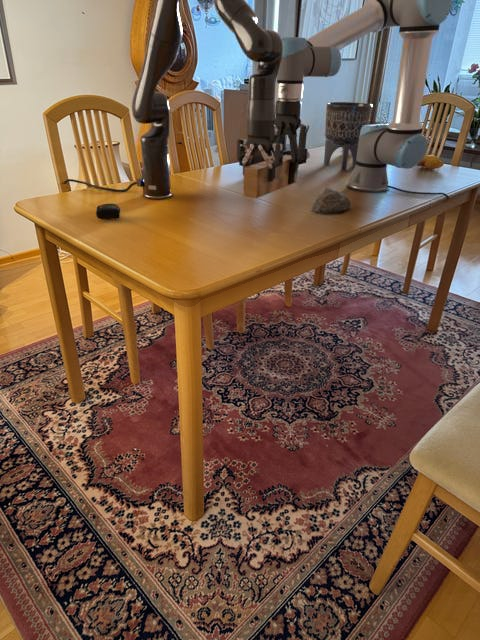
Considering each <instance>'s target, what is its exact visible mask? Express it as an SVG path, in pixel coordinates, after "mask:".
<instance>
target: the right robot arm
mask: <svg viewBox="0 0 480 640" xmlns="http://www.w3.org/2000/svg"><path fill="white" fill-rule="evenodd" d="M452 5H453V0H365V2H364V3H363V6H362V7H360V8H359V9H357V10H355V11H354V12H352V13H350V14H348V15H346V16H345V17H343V18H341V19H339V20H338V21H336V22H334V23H333V24H331V25H329V26H327V27H325V28H324V29H322V30H321V31H319V32H317V33H316V34H314V35H312V36H310V37H308V38H307V39H306V37H301V36H300V37H295V36H284V37H281V40H282V45H283V53H282V59H281V63H280V67H279V71H278V75H277V78H276V91H275V99H277V100H276V101H275V125H276V126H275V125H274V137H273V141H275V127H277V129H278V130H277V134H276V136H277V137H276V141H275V143H278V144H279V143H282V142H283V139H284V136H285V134H286V135H287V139H288V142H289V144H290V150H291V158H292V161H291V162H289V175H288V184H291V185H293V184H295V183H294V178H295V173H296V172H297V173H298V171H299V167H298V162H299V161H301V160H303V159H304V158H305V149H306V147H307V136H308V135H307V134H308V133H309V129H310V126H309V125H310V124H309V125H308V124H304V123H302V119H301V115H302V104H303V102H302V101H301V100H302V99H303V94H304V93H303V92H304V79H305V78H307V77H313V78H314V77H315V78H328V77H329V78H330V77H334V76H337V74H338V73H339V72H340V70H341V67H342V61H343V60H342V59H343V56H342V53H341V50H342V49H343V50H344V49H345V48H346V47H348V46H350V45H352V43H355V42H356V41H358V40H360V39H361V38H363V37H366V36H367V35H368V34H370V33H376V34H377V33H378V32H380V31H382V30H385V29H387V28H393V27H399V28H398V34H399V35H400V37H401V38H402V46H401V54H400V60H399V70H398V77H397V83H396V84H397V85H396V92H395V100H394V108H393V116H392V121H391V122H390V123H383V124H382V123H381V124H380V123H379V124H369V125H364V126H363V127H362V128H361V131H360V136H359V142H358V150H357V158H356V165H355V166H354V167H353V171H351V174H350V176H349V179H348V182H347V187H348V188H349V189H351V190H354V191H358V192H363V193H364V192H365V193H382V192H386V191H388V189H392V190H396V191H397V192H398V191H399V192H403V193H406V194H412V195H413V194H415V195H430V196H437V195H441V196H444V197H446V198H447V199H450V196H449V195H448V194H447V193H445V192H430V191H429V192H427V191H424V192H423V191H411V190H405V189H401V188H398V187H395V186H392V185H389V178H388V173H387V172H388V171H387V166H392V167H396V168H397V169H407V170H409V169H412V168H414V167H416V166H418V165H417V164H418V163H419V162H420V161H421V160H422V159H423V157H424V156H426V153H427V151H428V147H429V146H428V144H429V143H428V139H427V136H426V135H424V134H423V129H424V125H423V124H422V122H420V118H421V112H422V107H423V99H424V92H425V86H426V79H427V74H428V66H429V60H430V54H431V48H432V41H433V38H434V37H435V36H436V34H438V33H439V30H440V24H442V23H443V22H444V21H446V19H447V18H448V16H449V15H450V13H451V9H452ZM298 131H299V133H298ZM298 134H299V135H298ZM297 137H298V139H297ZM271 151H272V153H273V155H274V158H275V151H274V148H273V149H272V150H271ZM268 156H269V155H268ZM297 170H298V171H297ZM292 183H293V184H292Z"/></svg>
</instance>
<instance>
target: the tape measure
mask: <svg viewBox="0 0 480 640" xmlns="http://www.w3.org/2000/svg"><path fill="white" fill-rule="evenodd" d="M95 216H96V218H97V219H99V220H106V221H111V220H115V219H116V220H117V219H118V220H119V219H120V218H121V217H120V216H121V207H119V205H118V204H116V203H102V204H99V205H97V207H96V211H95Z"/></svg>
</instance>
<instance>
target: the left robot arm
mask: <svg viewBox="0 0 480 640" xmlns="http://www.w3.org/2000/svg"><path fill="white" fill-rule="evenodd" d="M179 2H180V1H179V0H155V2H154V8H153V13H152V17H151V18H152V19H151V23H150V27H149V31H148V38H147V41H146V47H145V52H144V57H143V63H142V66H141V69H140V74H139V76H138V80H137V83H136V87H135V90H134V93H133V96H132V101H131V113H132V117H133V119H134V120H135V121H136V122H137V123H139V124H141V125H143V124H144V125H147V124H149V125H150V126H149V127H150V128H149V129H148V130H147V131H146V132H144V133H143V134H141V135H140V137H139V138H140V139H139V142H140V153H141V164H142V167H140V171H141V172H140V174H141V178H136V181H133V182H132V183H130V184H129V185H128V186H127V187H126V188H123V189H117V188H112V187H111V188H110V187H103V186H99V185H96V184H91V183H89V182H87V181H82V180H78V179H73V178H68V179H66V181H65V180H64V181H63V182H62V185H66V184H67V183H68V182H72V183H78V184H82V185H85V186H86V185H87V186H88V187H91V188H95V189H97V190H102V191H103V190H104V191H111V192H115V193H116V192H117V193H124V192H128V191H129V190H130V189H131V188H132V187H133V186H135V185H136V186H137V187H139V188H142V195H143V196H144V197H145V198H147V199H150V200H163V199H168V198H170V197H172V188H171V187H172V186H171V185H172V183H171V168H170V167H171V165H170V151H169V139H170V135H171V134H170V133H171V130H170V129H171V128H170V126H171V125H170V122H171V121H170V118H171V117H170V115H171V113H170V105H169V100H168V98H167V96H166V94H165V93H163V92H162V91H157V87H158V85H159V83H160V82H161V80H162V79H163V78H164V77H165V75H166V74H168V72H169V71H170V69H171V68H172V67H173V66H174V64H175V62H176V61H177V58H178V56H179V52H180V48H181V44H182V40H183V35H184V34H183V23H182V19H181V15H180V14H181V13H180V9H179ZM212 2H213V7H214V8H215V9H214V10H215V11H216V13H217V15H218V17H219V18H220V20H221V21H222V22H223V23H224V25H225V26H226V27H227V28H228V29H229V30H230V32H231V33H232V34H234V37H235V39H236V40H237V43H238V45H239V47H240V49H241V50H242V52H243V54H244V55H245V56H246V57H247V59H249V60H250V61H252V62H255V63H257V67H256V71H255V72H253V73H252V74H251V75H250V76H249V79H248V98H247V107H246V108H247V109H246V136H247V138H244V137H243V138H238V139H236V140H237V141H236V160H237V161H238V162H239V161H240V162H242V163H243V166H242V176H244V167H247V166H250V164H249V163H250V161H251V160H252V158H253V157H257V156H258V157H260V158H264V160H265V161H266V162H267V164H268V166H269V168H268V180H267V181H268V182H272V181H273V180H274V179H275V170H276V167H278V166H282V164H283V148H284V144H283V143H279V144H278V143H274V141H273V137H274V125H275V117H276V113H275V109H276V88H277V75H278V71H279V67H280V63H281V59H282V53H283V45H282V40H281V39H282V37H281V35H280V34H279V33H278V32H277V31H275V30H272V29H262V28H261V27H260V26H259V25H258V24H257V23H258V18H257V17H258V16H257V14H256V12H255V11H254V10H253V8H252V7H251V6H250V5H249V3H248V2H247V1H246V0H212ZM246 147H247V148H248V149H247V150H246ZM273 148H274V151H275V159H274V155H273V153H272V151H271V150H272V149H273ZM245 151H247V153H246V154H245ZM268 155H269V156H268Z"/></svg>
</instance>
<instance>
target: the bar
mask: <svg viewBox="0 0 480 640" xmlns="http://www.w3.org/2000/svg"><path fill="white" fill-rule="evenodd" d="M274 159H275V158H274ZM291 161H292V158H291V155H284V156H283V164H282V166H278V167H276V170H275V179H274V180H273V181H272V182H268V181H267V180H268V168H269V166H268V164H267V162H266V161H264V162H260V163H257V164H254V165H250V166H247V167H244V175H243V193H242V194H243V197H249V198H253V199H259V198H261V197H263V196H266V195H268V194H271V193H273V192H276V191H278V190H281V189H283V188H285V187H286V188H287V187H288V186H290V185H291V186H292V185H293V184H296V183H298V171H299V169H298V170H297V172H296V173H295V178H294V183H292V184H288V175H289V162H291Z"/></svg>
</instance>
